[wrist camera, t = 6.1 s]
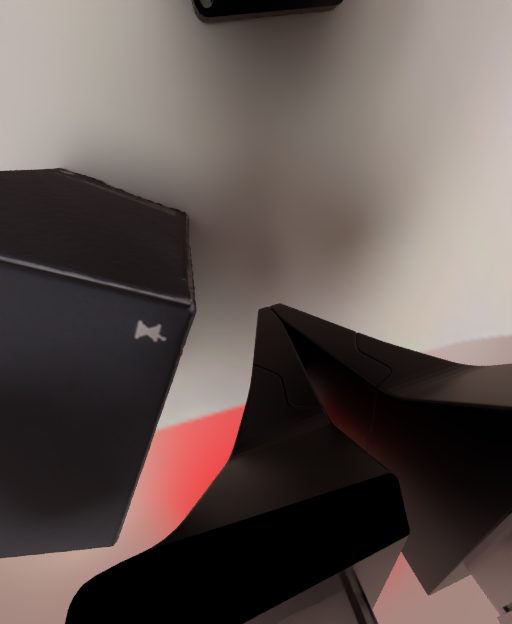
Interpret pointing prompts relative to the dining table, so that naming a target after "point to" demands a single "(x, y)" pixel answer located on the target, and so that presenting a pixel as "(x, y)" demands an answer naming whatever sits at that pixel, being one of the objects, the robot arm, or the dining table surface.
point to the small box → (83, 352)
